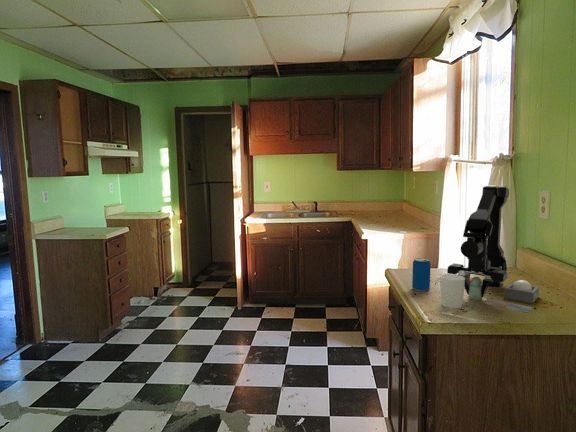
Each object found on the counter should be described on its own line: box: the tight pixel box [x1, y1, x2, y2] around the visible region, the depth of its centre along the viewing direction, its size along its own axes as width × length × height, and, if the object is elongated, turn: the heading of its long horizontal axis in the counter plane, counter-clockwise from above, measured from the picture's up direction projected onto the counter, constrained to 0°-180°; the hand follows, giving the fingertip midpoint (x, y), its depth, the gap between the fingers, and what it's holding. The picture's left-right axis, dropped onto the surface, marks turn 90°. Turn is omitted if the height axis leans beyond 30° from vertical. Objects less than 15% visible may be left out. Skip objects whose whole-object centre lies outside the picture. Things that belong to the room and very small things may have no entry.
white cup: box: [439, 273, 465, 309], centre depth 142 cm, size 8×8×10 cm
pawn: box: [468, 276, 483, 301], centre depth 147 cm, size 4×4×8 cm
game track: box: [463, 295, 533, 313], centre depth 143 cm, size 6×20×1 cm, turn 49°
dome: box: [513, 279, 532, 292], centre depth 149 cm, size 6×6×6 cm
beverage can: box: [411, 257, 432, 292], centre depth 160 cm, size 6×6×12 cm
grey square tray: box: [504, 282, 540, 304], centre depth 149 cm, size 9×9×4 cm
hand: (475, 295), depth 148 cm, fingers closed on pawn, 4 cm apart
